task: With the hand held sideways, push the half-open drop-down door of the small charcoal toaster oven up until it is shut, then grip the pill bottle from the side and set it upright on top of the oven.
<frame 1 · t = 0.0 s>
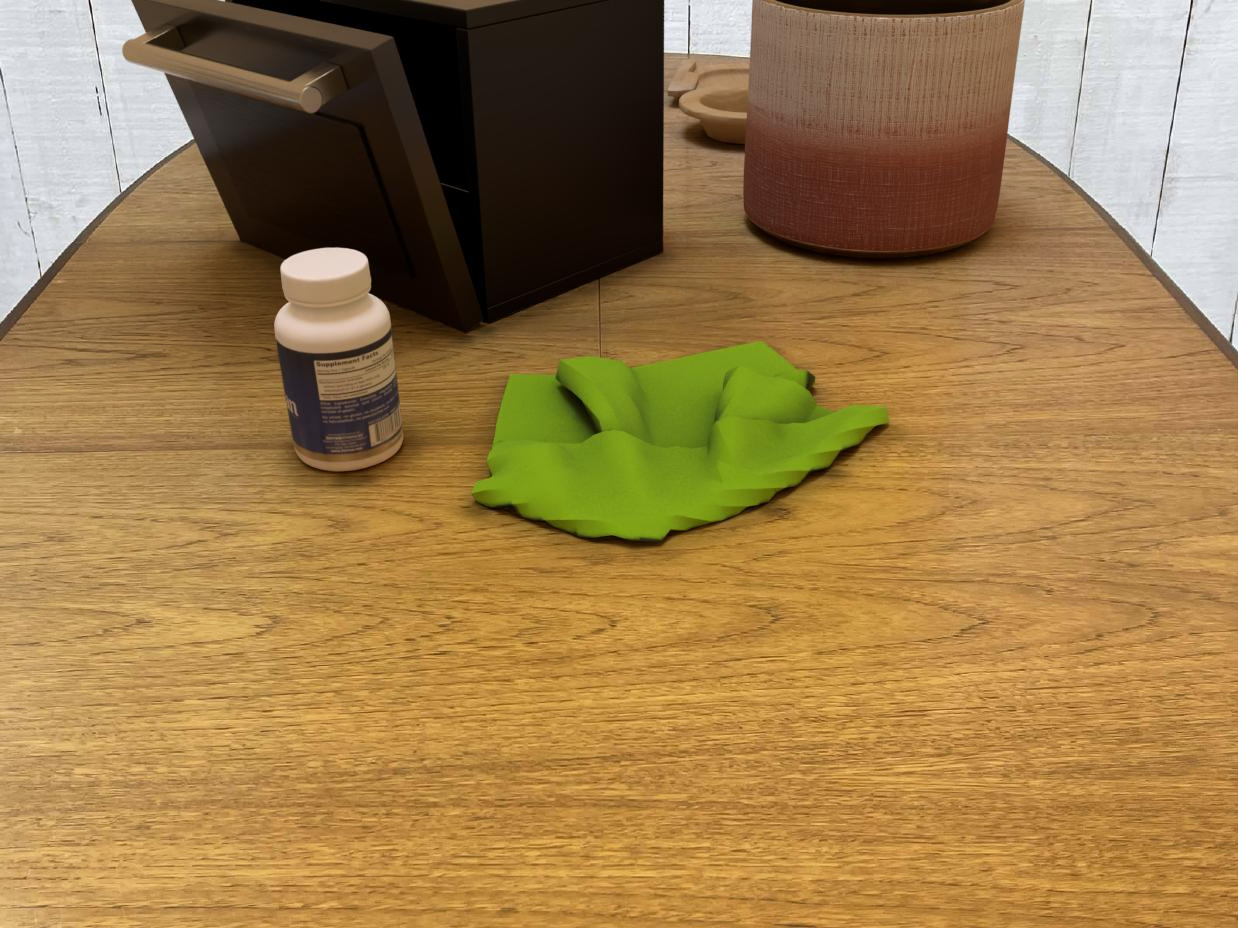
oven: (458, 242, 87), on the table
planter: (865, 224, 90), on the table
tableware set: (651, 115, 117), on the table
pill bottle: (350, 450, 63), on the table
cloth: (684, 433, 64), on the table
oven door: (283, 168, 75), point 8 cm above the table, hinge at 15.1°
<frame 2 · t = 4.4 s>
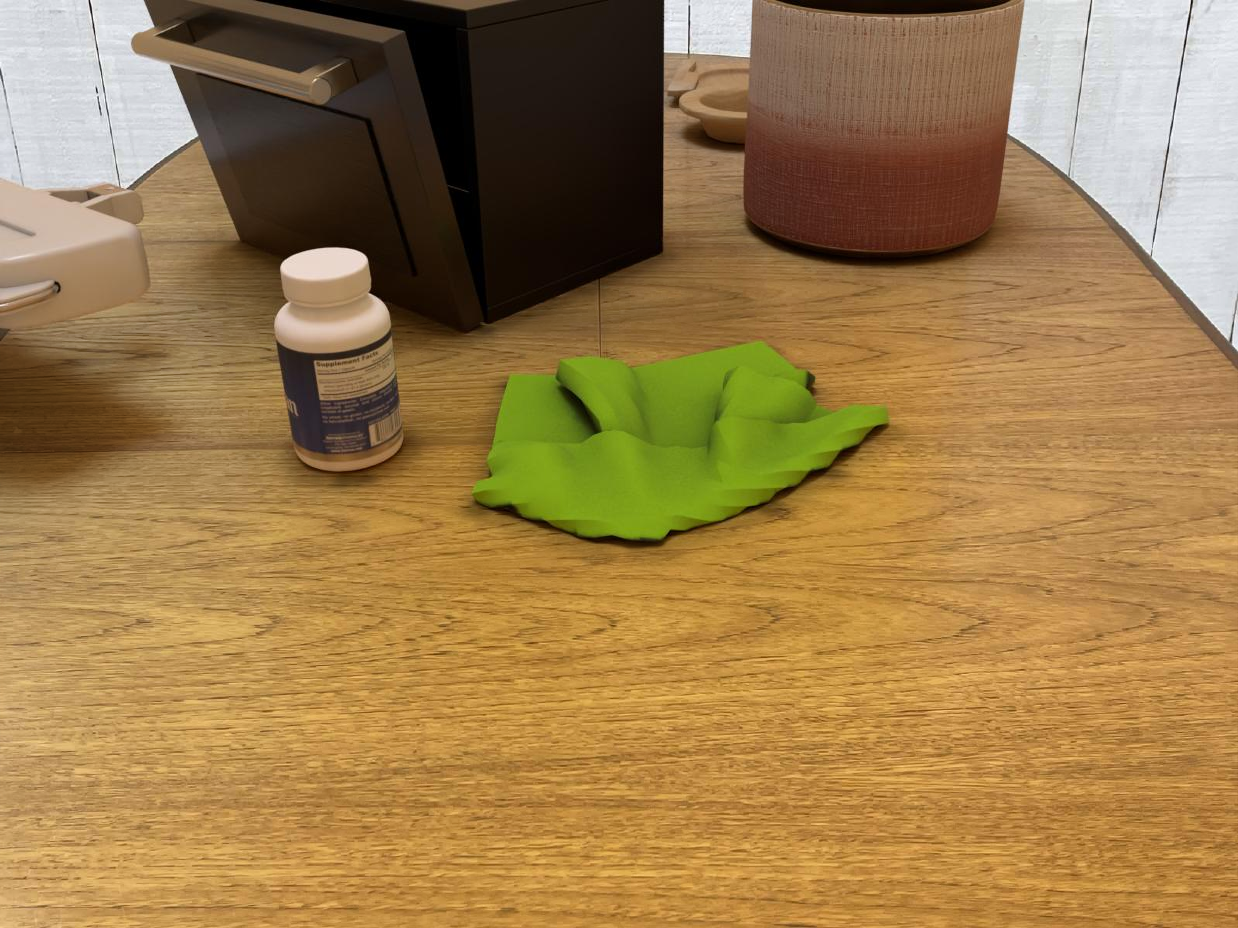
hand: (128, 200, 69), 9 cm above the table, tool horizontal, fingers closed
oven door: (288, 164, 75), point 8 cm above the table, hinge at 12.7°
everything else where it was.
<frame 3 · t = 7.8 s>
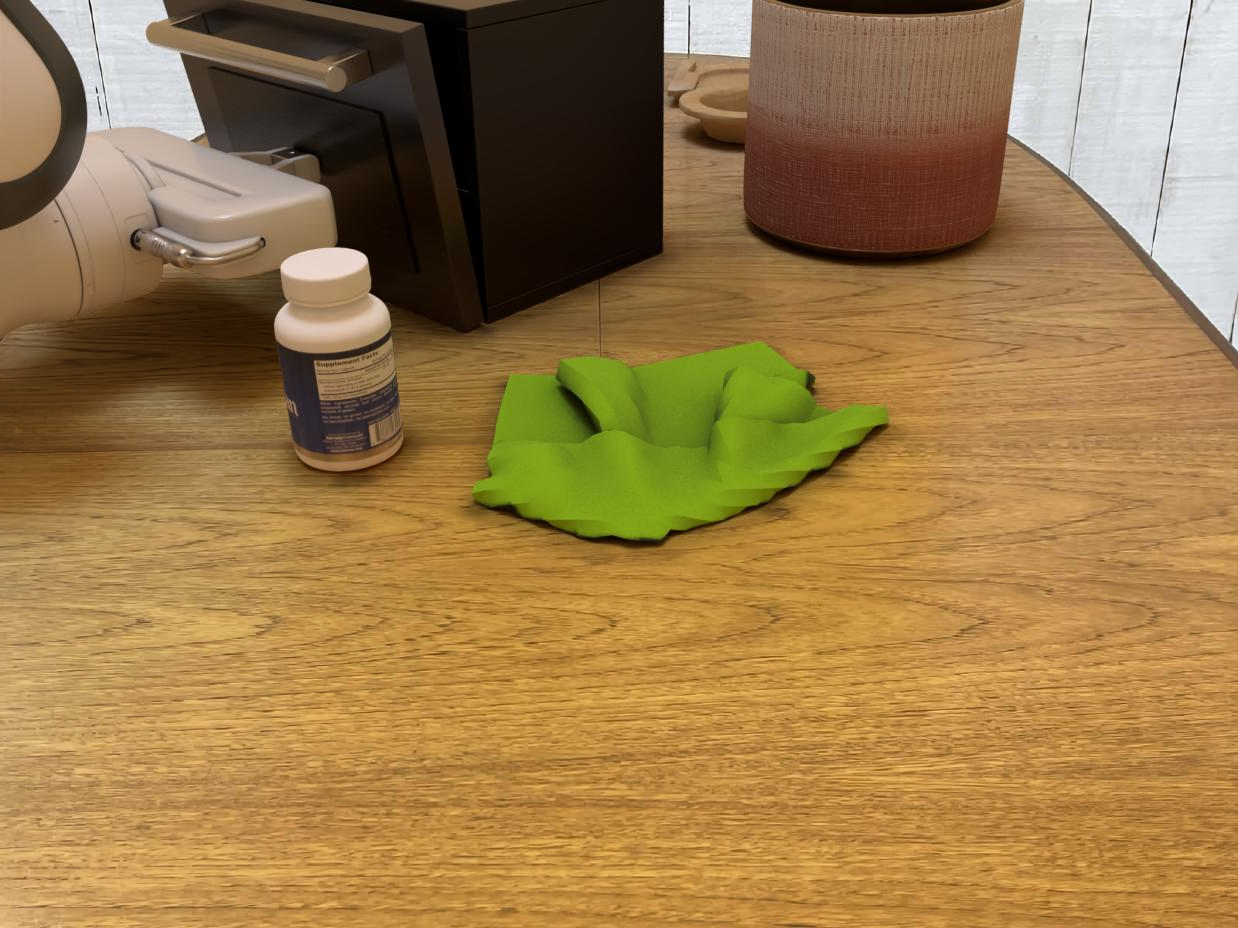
hand: (306, 164, 76), 8 cm above the table, tool horizontal, fingers closed, pressing on oven door
oven door: (296, 158, 76), point 9 cm above the table, hinge at 8.5°, touching gripper
everything else where it was.
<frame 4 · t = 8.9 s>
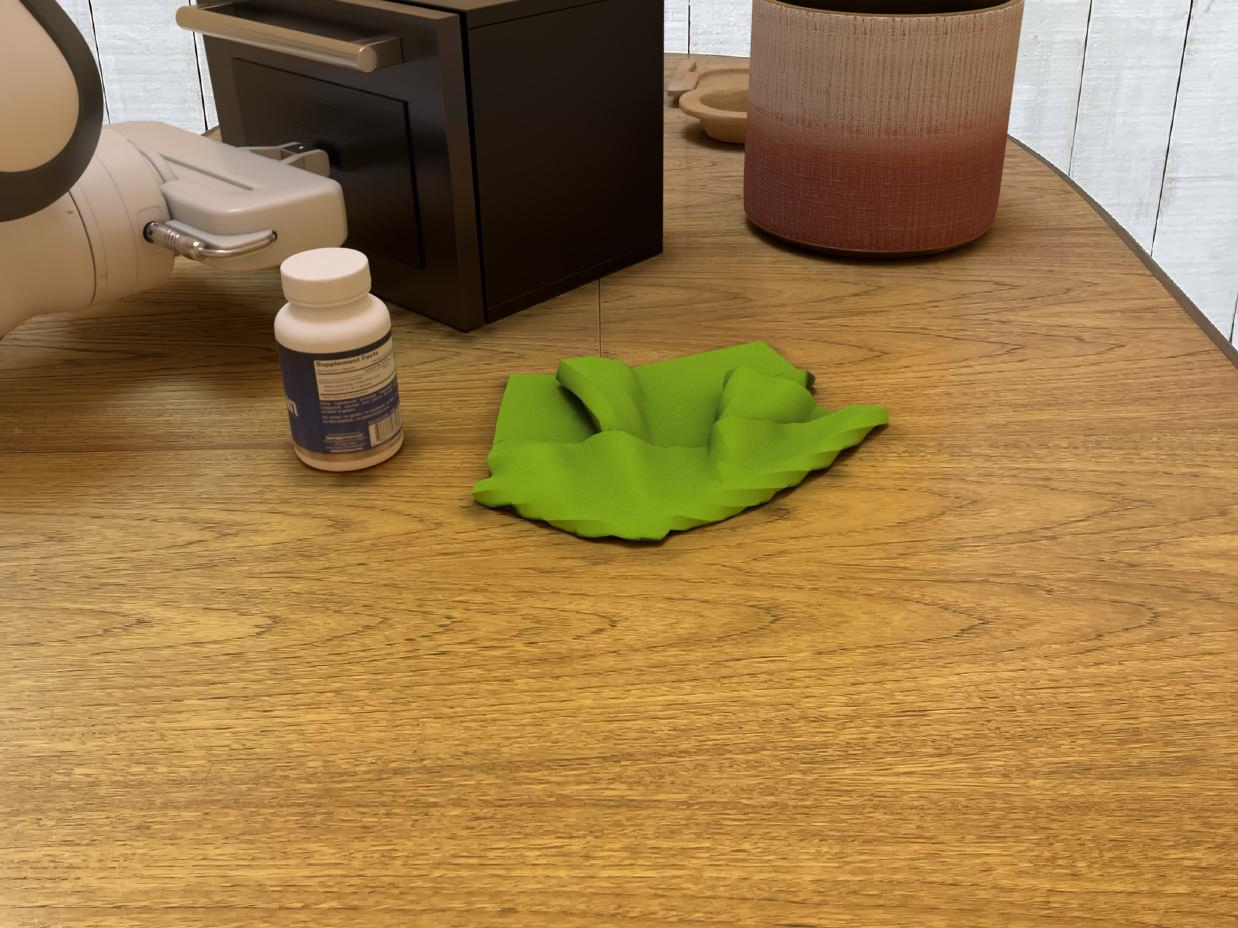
hand: (315, 159, 77), 8 cm above the table, tool horizontal, fingers closed
oven door: (312, 148, 76), point 9 cm above the table, hinge at 0.7°
everything else where it was.
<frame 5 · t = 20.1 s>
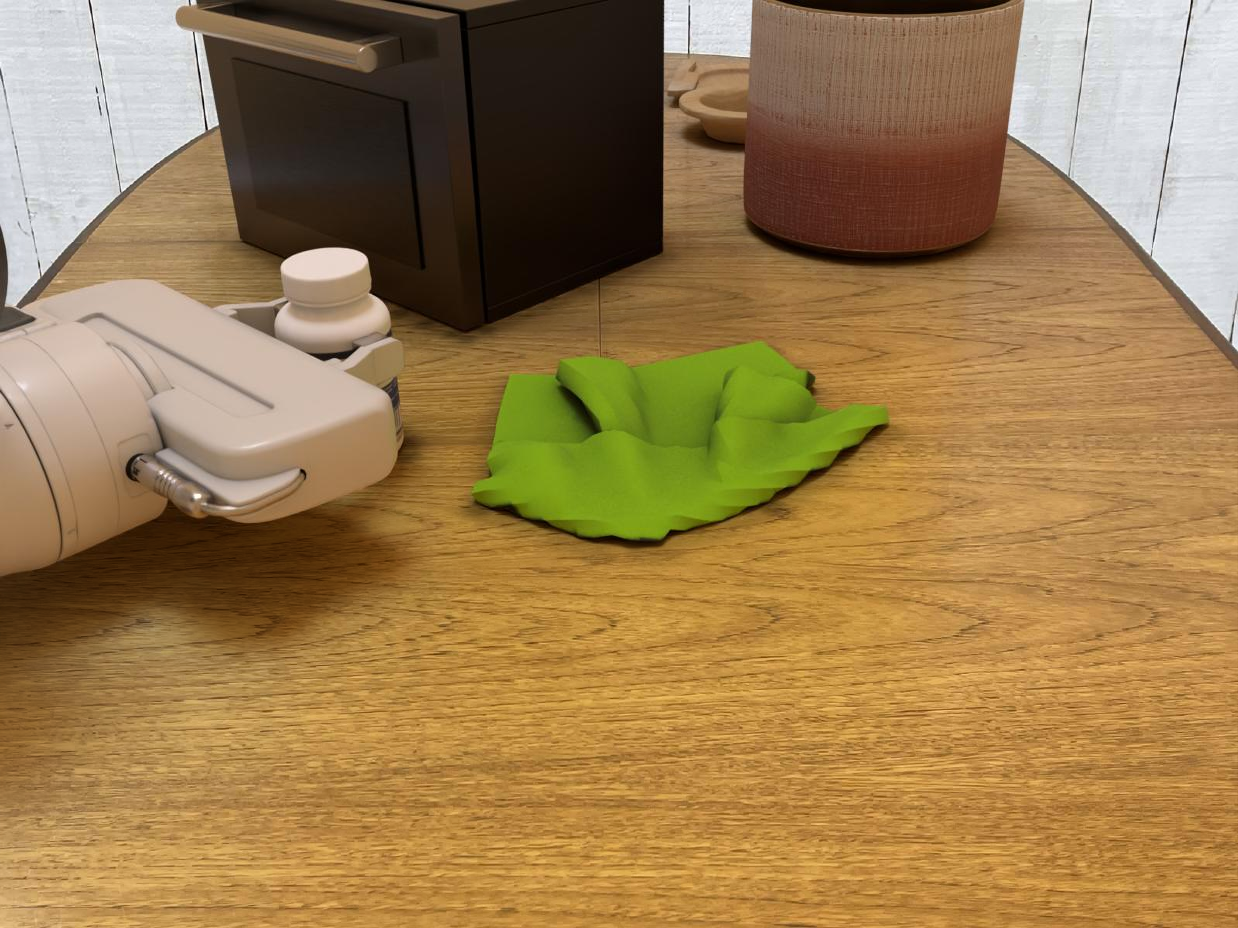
hand: (349, 330, 60), 6 cm above the table, tool horizontal, fingers closed on pill bottle, 5 cm apart
pill bottle: (350, 450, 63), on the table, touching gripper
everything else where it was.
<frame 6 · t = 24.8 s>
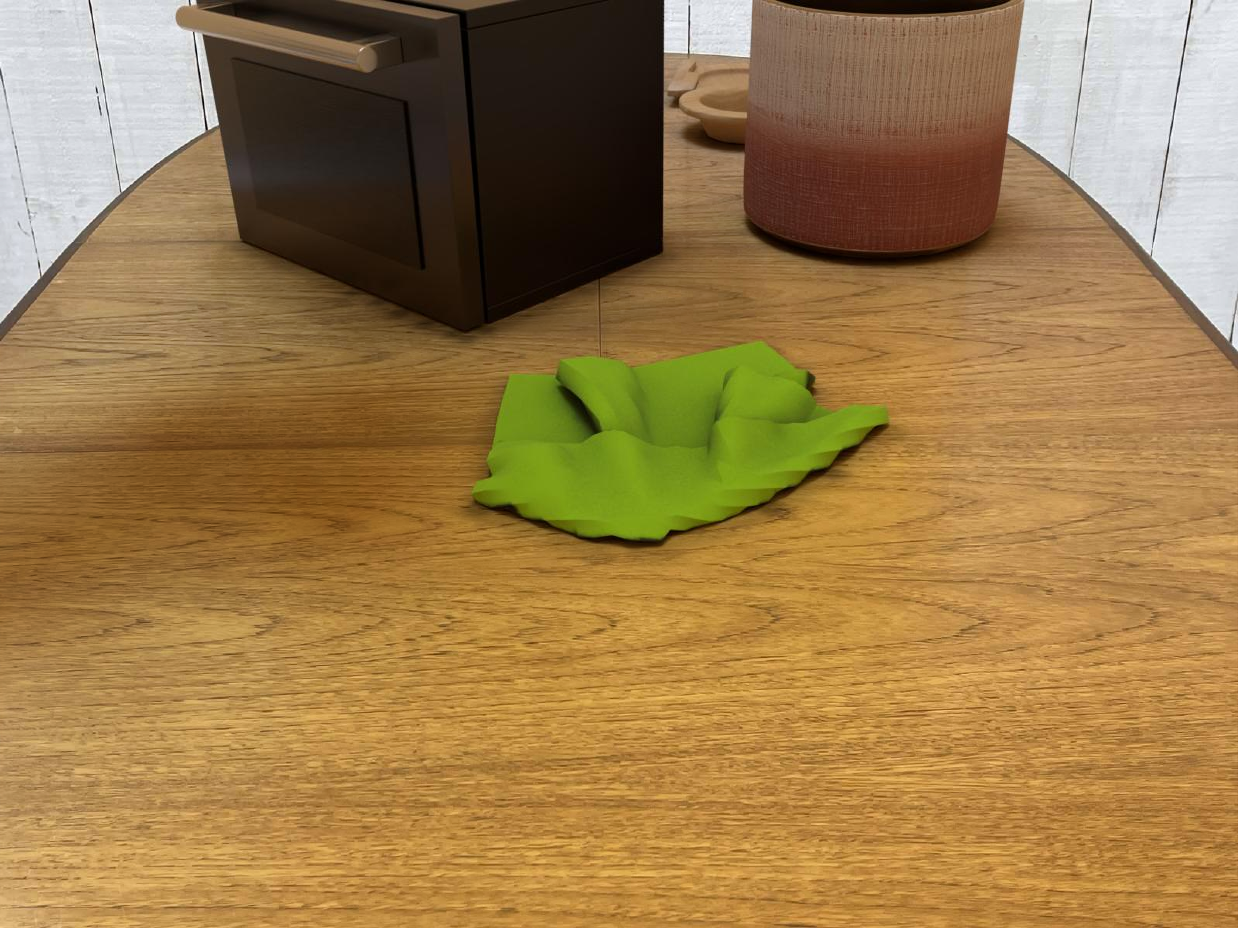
when the fingers open (24 cm above the table, at t = 29.8 s): pill bottle stays where it is, resting on oven.
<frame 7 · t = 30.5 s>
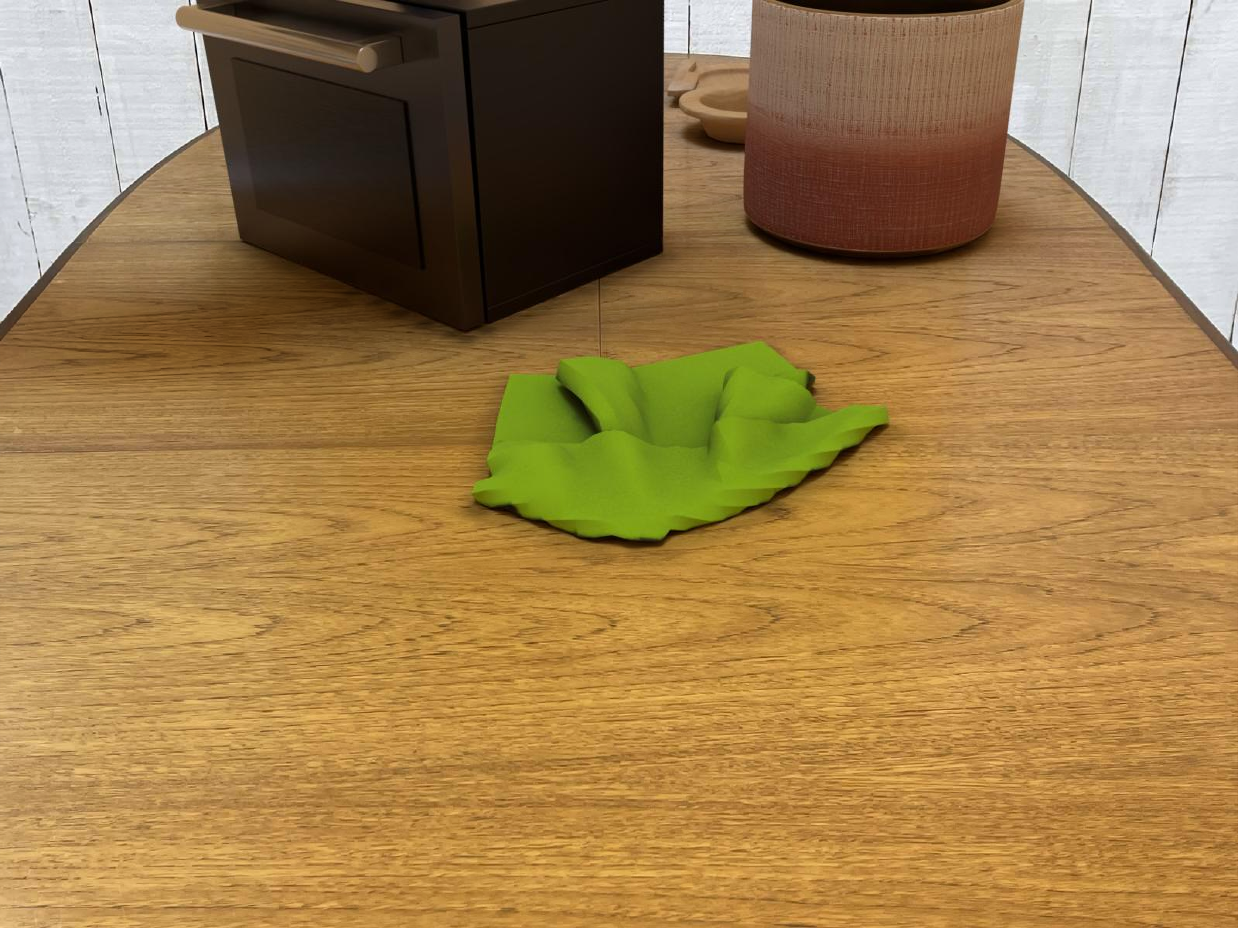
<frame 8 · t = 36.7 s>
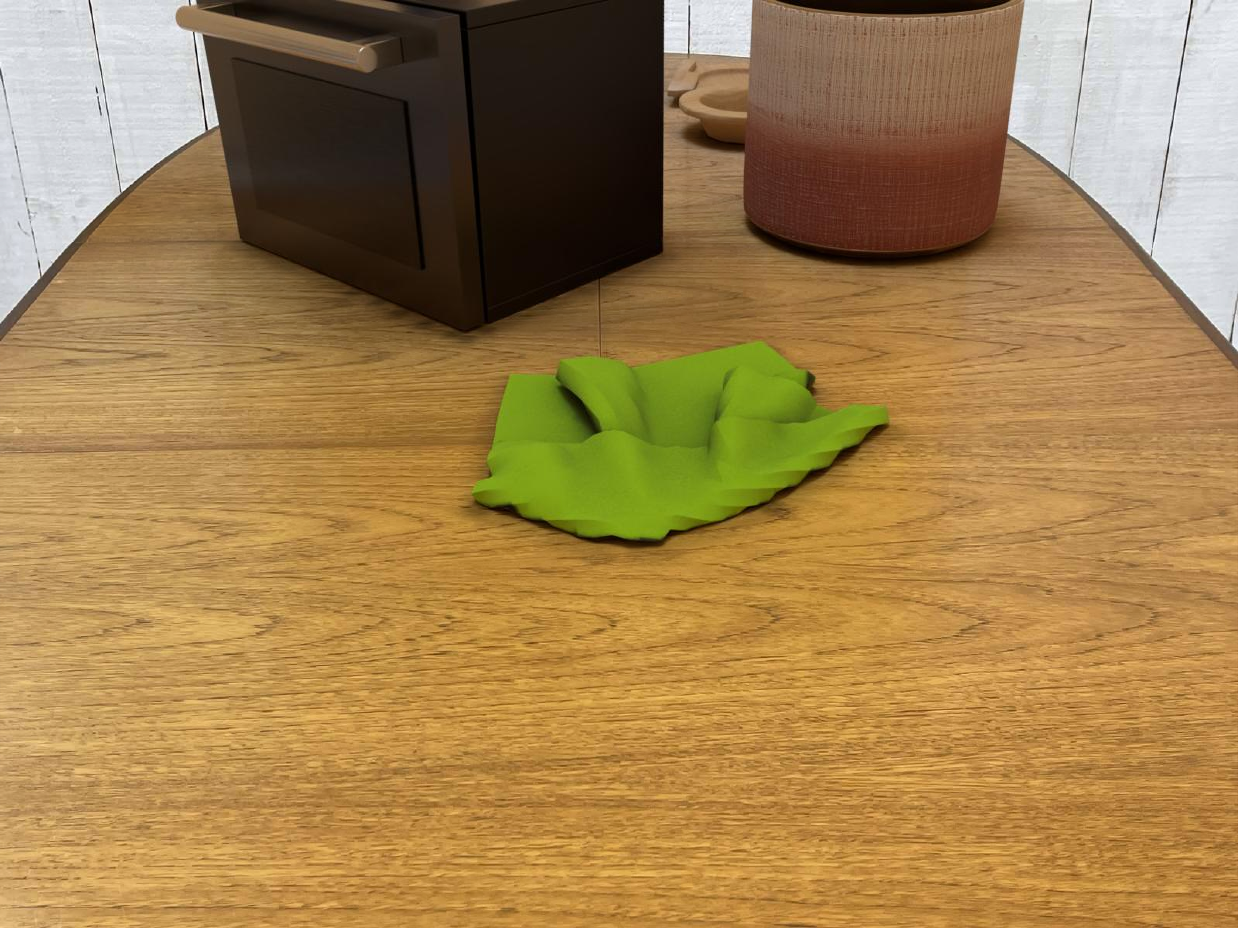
at the end: oven door at +1° (first picture: +15°); pill bottle inside the target area on the oven (0.1 cm from its centre), point 17.8 cm above the oven's base; pill bottle tilted 0° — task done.
